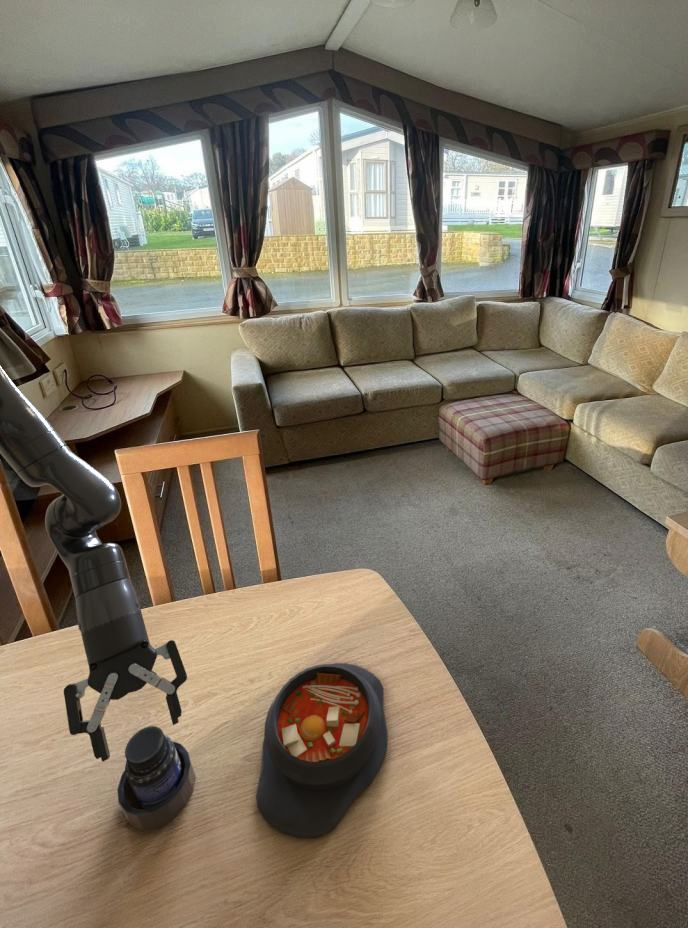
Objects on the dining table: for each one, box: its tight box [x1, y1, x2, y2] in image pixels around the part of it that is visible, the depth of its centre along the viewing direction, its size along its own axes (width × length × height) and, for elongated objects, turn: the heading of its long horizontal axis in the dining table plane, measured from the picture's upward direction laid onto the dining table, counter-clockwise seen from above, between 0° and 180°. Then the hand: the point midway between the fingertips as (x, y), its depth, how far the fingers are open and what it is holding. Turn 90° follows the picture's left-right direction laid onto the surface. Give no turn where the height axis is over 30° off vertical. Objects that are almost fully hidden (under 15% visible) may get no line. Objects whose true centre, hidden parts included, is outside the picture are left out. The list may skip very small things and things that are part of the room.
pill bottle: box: [124, 725, 184, 810], centre depth 65 cm, size 6×6×11 cm
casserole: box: [255, 662, 389, 839], centre depth 71 cm, size 25×19×8 cm
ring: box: [117, 741, 196, 831], centre depth 66 cm, size 9×9×5 cm
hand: (142, 740), depth 64 cm, fingers open, 8 cm apart
